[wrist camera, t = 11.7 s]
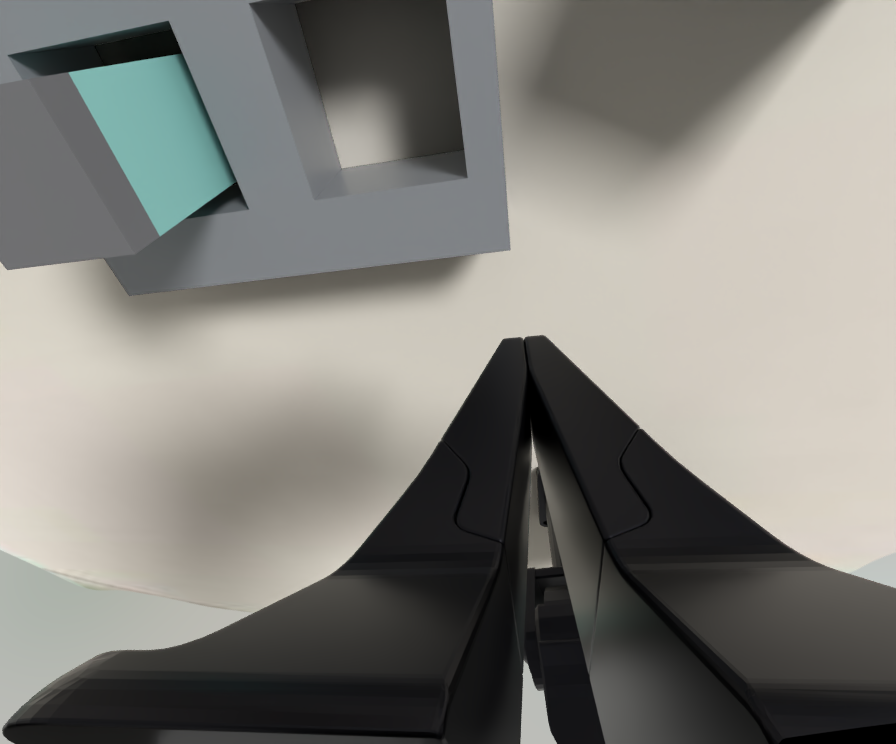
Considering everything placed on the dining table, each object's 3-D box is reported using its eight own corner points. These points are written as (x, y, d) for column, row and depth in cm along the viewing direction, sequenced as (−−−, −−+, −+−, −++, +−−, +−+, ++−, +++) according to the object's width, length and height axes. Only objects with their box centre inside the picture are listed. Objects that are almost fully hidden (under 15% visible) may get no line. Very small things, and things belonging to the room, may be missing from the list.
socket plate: (506, 212, 20) (510, 250, 17) (178, 255, 22) (128, 295, 19) (478, -163, 13) (476, -215, 10) (10, -46, 15) (-108, -59, 12)
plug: (264, 161, 19) (135, 254, 12) (178, 174, 20) (7, 270, 13) (221, 47, 17) (27, 78, 10) (125, 64, 17) (-125, 107, 10)
